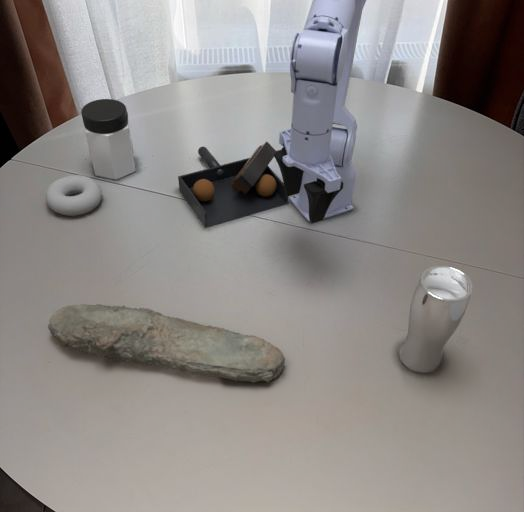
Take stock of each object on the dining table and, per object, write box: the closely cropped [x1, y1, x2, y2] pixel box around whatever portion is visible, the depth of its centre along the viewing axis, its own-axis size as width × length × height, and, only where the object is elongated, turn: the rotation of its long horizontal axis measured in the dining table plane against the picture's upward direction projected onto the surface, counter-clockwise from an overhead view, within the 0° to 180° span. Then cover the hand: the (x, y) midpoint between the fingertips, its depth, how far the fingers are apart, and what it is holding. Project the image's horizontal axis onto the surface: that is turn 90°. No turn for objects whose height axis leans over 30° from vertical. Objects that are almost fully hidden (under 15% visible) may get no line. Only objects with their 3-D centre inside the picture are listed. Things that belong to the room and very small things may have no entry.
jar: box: [80, 98, 137, 181], centre depth 110 cm, size 9×8×12 cm
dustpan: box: [177, 146, 290, 229], centre depth 111 cm, size 21×17×3 cm
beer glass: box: [398, 264, 474, 374], centre depth 79 cm, size 7×7×15 cm
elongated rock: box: [47, 303, 286, 384], centre depth 83 cm, size 35×5×10 cm
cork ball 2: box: [255, 174, 276, 196], centre depth 108 cm, size 4×4×4 cm
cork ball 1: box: [193, 179, 215, 202], centre depth 107 cm, size 4×4×4 cm
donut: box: [45, 174, 103, 217], centre depth 106 cm, size 10×4×10 cm
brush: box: [231, 141, 277, 194], centre depth 108 cm, size 10×3×6 cm
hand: (304, 207), depth 91 cm, fingers open, 7 cm apart
